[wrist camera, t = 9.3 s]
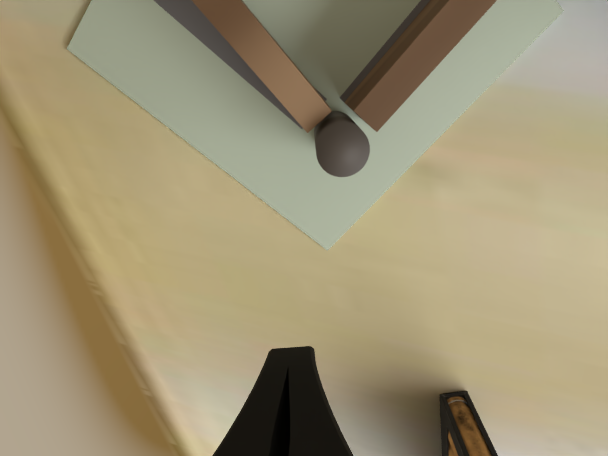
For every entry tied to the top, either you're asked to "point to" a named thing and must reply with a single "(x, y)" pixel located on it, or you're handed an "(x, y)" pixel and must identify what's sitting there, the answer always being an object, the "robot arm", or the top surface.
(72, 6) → the top surface
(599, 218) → the top surface
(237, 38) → the fence gate
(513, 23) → the card
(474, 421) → the ammunition clip
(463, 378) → the top surface
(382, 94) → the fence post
